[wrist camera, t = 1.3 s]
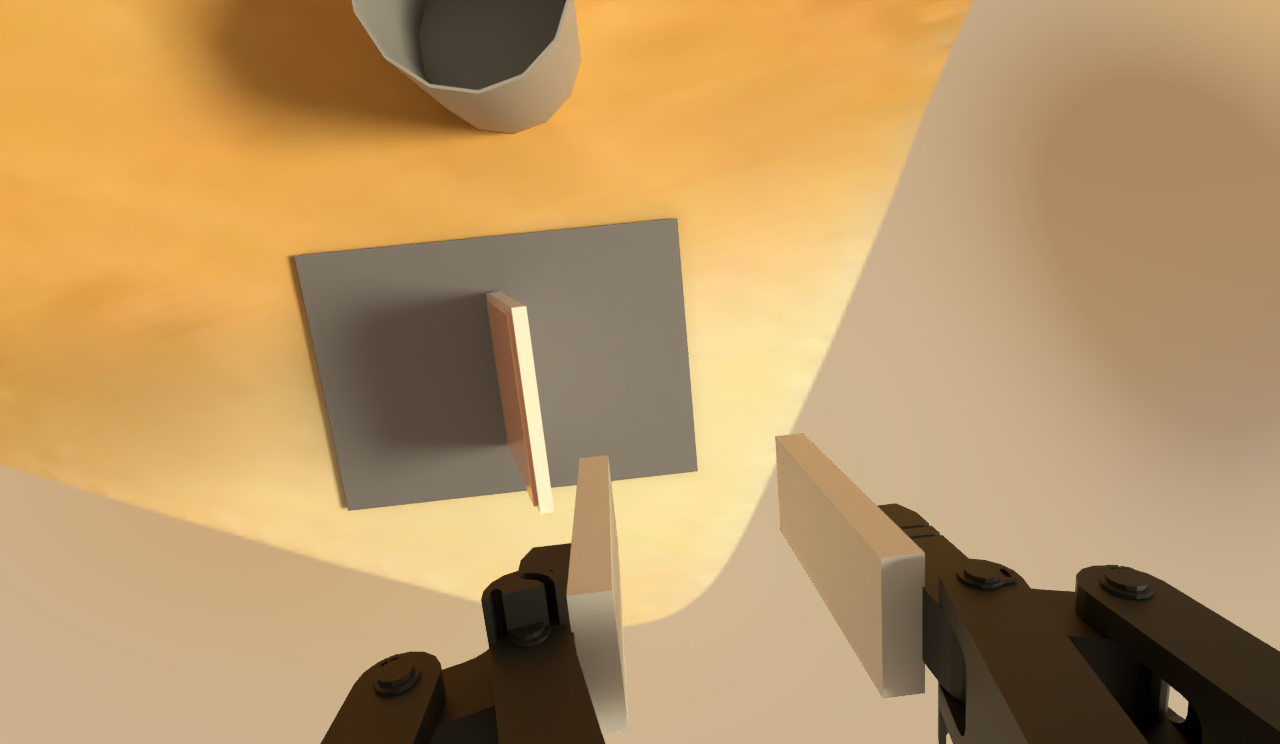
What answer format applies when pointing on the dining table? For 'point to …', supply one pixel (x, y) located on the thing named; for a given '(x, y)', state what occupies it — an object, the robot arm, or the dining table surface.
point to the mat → (466, 369)
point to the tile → (520, 395)
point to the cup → (482, 54)
